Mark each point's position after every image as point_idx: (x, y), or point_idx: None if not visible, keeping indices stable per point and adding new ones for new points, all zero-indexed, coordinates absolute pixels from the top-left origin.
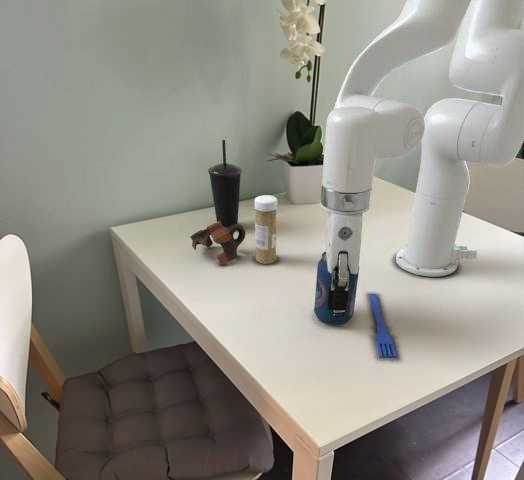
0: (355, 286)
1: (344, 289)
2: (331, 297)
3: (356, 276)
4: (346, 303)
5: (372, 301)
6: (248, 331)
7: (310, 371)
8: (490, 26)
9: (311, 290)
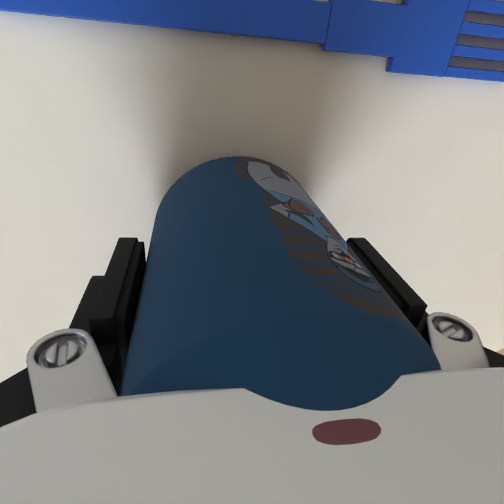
0: (340, 245)
1: (485, 351)
2: None
3: (385, 297)
4: (379, 256)
5: (81, 10)
6: None
7: (475, 287)
8: None
9: (31, 289)
